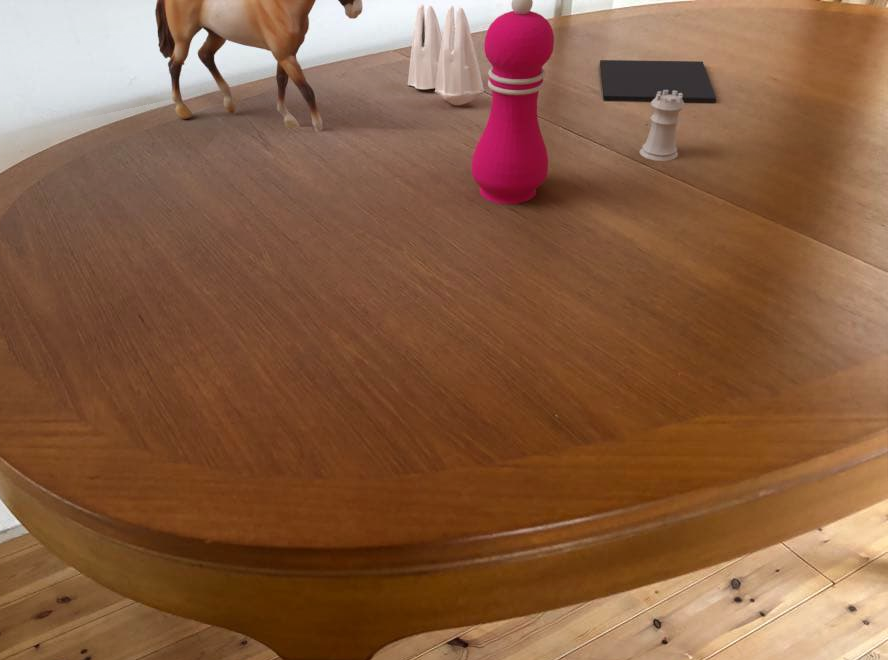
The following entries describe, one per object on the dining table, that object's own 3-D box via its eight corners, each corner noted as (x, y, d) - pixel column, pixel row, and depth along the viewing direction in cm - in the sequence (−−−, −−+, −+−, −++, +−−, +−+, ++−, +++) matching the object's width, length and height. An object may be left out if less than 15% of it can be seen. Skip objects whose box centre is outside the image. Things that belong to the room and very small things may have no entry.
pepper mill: (454, 208, 88) (461, -6, 75) (503, 185, 91) (519, -24, 79) (508, 233, 84) (526, 10, 71) (558, 208, 87) (584, -9, 74)
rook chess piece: (658, 183, 90) (673, 106, 85) (624, 169, 93) (636, 94, 88) (686, 171, 92) (703, 94, 87) (652, 157, 95) (665, 83, 90)
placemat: (701, 65, 116) (702, 61, 115) (715, 103, 106) (716, 98, 105) (599, 64, 118) (600, 59, 117) (603, 100, 108) (604, 95, 108)
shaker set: (485, 106, 108) (490, 11, 101) (456, 114, 107) (459, 17, 100) (432, 78, 116) (434, -12, 109) (405, 85, 115) (405, -6, 108)
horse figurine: (377, 136, 103) (372, -60, 90) (339, 161, 98) (328, -42, 85) (177, 92, 117) (148, -83, 104) (136, 112, 112) (100, -69, 99)
